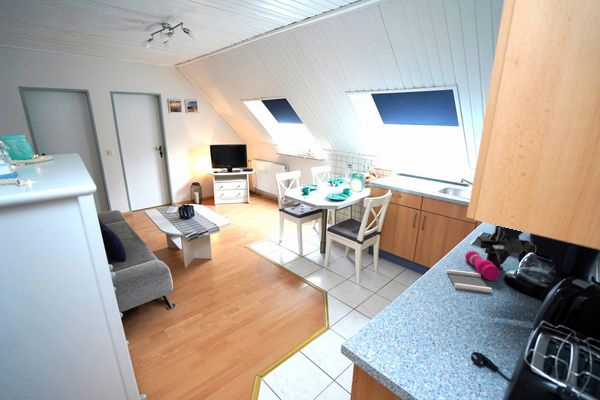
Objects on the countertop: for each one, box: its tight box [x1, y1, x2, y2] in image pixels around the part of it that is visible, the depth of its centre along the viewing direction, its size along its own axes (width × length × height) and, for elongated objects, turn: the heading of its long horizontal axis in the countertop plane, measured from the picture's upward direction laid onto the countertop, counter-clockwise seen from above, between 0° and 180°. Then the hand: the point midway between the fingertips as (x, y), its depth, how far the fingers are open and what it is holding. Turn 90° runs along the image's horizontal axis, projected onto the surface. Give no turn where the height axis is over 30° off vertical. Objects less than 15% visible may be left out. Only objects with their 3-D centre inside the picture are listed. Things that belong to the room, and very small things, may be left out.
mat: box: [446, 269, 493, 294], centre depth 115 cm, size 12×13×2 cm
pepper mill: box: [464, 250, 500, 281], centre depth 125 cm, size 7×7×20 cm
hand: (500, 263), depth 110 cm, fingers closed
